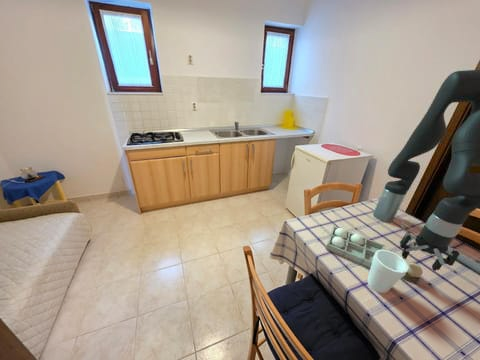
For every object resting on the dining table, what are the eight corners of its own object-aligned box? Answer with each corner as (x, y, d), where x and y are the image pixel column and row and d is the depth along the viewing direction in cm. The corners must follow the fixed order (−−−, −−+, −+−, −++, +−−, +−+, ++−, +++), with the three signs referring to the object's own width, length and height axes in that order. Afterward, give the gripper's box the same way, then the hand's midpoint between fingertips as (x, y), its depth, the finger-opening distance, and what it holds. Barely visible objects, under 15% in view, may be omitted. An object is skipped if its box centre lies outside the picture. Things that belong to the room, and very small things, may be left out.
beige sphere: (402, 266, 78) (407, 257, 76) (418, 272, 76) (424, 264, 74) (403, 275, 75) (408, 266, 72) (419, 282, 72) (426, 273, 70)
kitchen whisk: (491, 285, 74) (502, 273, 71) (395, 229, 101) (401, 219, 98) (497, 278, 76) (508, 267, 73) (402, 225, 103) (407, 216, 100)
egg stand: (401, 268, 79) (403, 265, 78) (416, 275, 76) (418, 271, 76) (402, 277, 75) (404, 274, 74) (417, 284, 73) (420, 281, 72)
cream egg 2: (331, 240, 90) (334, 232, 88) (343, 245, 88) (346, 237, 86) (329, 247, 87) (332, 239, 84) (341, 252, 84) (344, 244, 82)
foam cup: (378, 300, 67) (393, 275, 61) (357, 276, 75) (368, 252, 69) (399, 293, 70) (415, 268, 64) (376, 271, 77) (389, 247, 71)
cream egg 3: (349, 238, 92) (353, 230, 90) (361, 242, 90) (365, 234, 88) (348, 244, 88) (351, 236, 86) (360, 249, 86) (364, 241, 84)
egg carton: (332, 230, 97) (333, 226, 96) (382, 250, 87) (384, 245, 86) (325, 249, 87) (327, 244, 85) (381, 273, 77) (384, 268, 75)
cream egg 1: (334, 232, 95) (337, 224, 93) (345, 236, 93) (348, 228, 91) (332, 238, 92) (335, 230, 89) (344, 243, 89) (347, 234, 87)
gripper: (466, 231, 64) (441, 265, 71) (412, 214, 71) (394, 247, 78) (474, 245, 58) (446, 280, 66) (414, 226, 65) (395, 260, 73)
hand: (418, 262), depth 72 cm, fingers open, 8 cm apart
